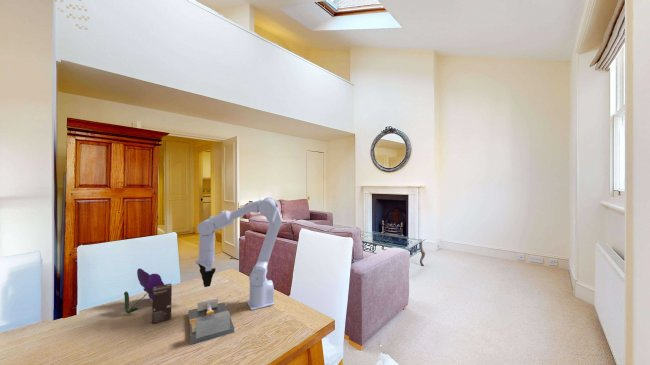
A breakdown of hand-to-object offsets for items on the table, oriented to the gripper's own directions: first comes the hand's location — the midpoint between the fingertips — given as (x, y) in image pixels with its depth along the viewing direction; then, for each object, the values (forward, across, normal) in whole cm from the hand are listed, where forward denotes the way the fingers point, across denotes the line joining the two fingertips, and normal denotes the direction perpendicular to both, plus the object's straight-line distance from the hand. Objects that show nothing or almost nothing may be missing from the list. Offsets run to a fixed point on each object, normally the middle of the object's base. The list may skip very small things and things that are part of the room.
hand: (206, 282), depth 102 cm
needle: (+8, +14, -2) cm, 16 cm away
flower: (+10, -11, -21) cm, 26 cm away
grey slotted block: (+8, +9, 0) cm, 12 cm away
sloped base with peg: (+10, +14, 0) cm, 17 cm away
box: (+10, +2, -15) cm, 18 cm away
